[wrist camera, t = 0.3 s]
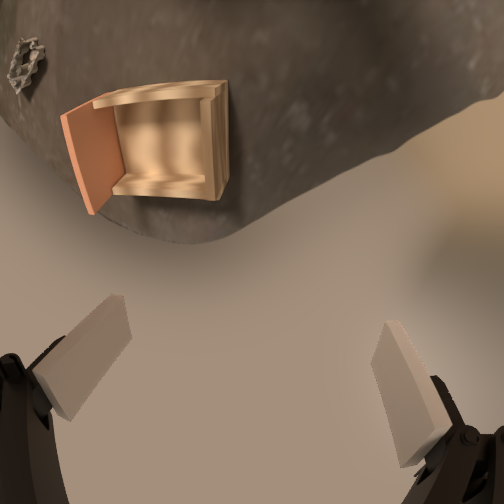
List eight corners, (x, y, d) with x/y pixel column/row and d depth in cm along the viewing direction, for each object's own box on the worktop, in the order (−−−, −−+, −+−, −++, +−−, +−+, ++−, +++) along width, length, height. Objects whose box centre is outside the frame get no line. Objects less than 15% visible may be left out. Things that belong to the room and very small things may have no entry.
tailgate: (113, 91, 33) (66, 114, 25) (128, 176, 44) (94, 214, 36) (107, 92, 33) (60, 116, 25) (123, 176, 44) (88, 214, 36)
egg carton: (35, 32, 24) (20, 36, 21) (50, 51, 28) (35, 56, 25) (14, 71, 29) (0, 77, 26) (28, 90, 33) (14, 97, 30)
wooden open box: (228, 80, 32) (210, 91, 26) (229, 177, 43) (215, 208, 37) (118, 89, 34) (83, 105, 28) (132, 173, 45) (107, 201, 39)
